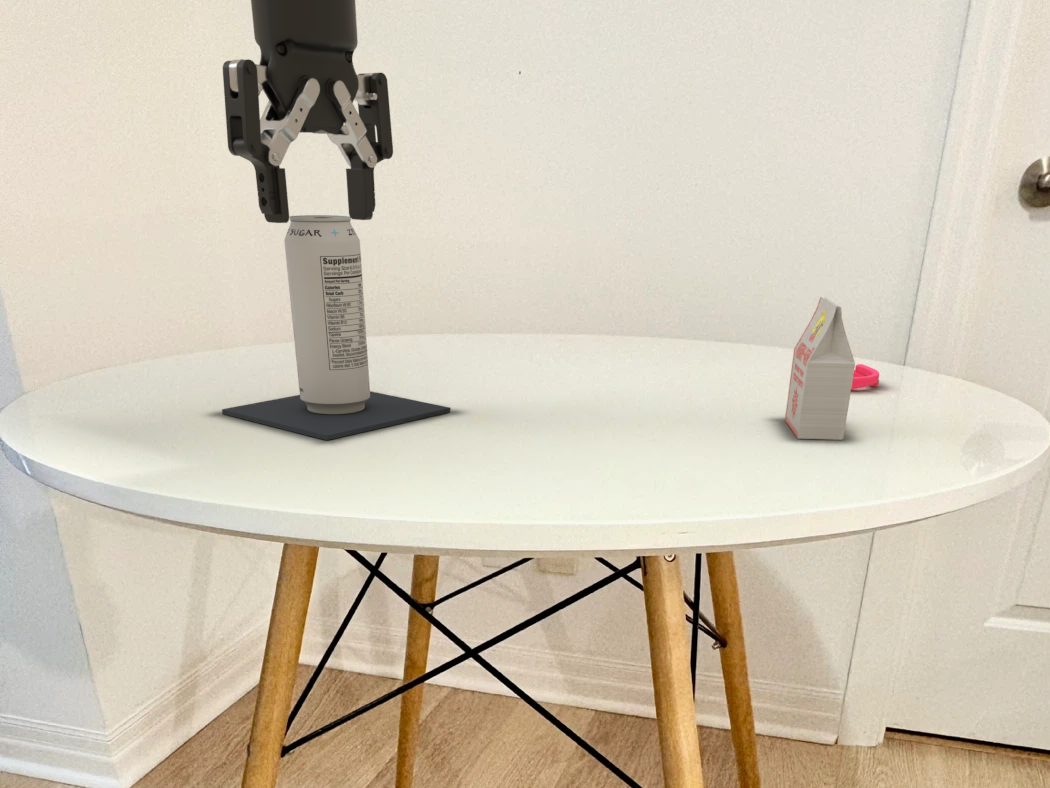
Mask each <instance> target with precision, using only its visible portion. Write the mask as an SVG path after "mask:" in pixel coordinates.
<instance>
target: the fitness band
mask: <svg viewBox="0 0 1050 788" xmlns="http://www.w3.org/2000/svg"><path fill="white" fill-rule="evenodd" d="M879 378H880V372H879V370H877V369H875V368H873V367H871V366H868V365H865V364H863V363H857V364H855V368H854V375H853V381H852V387H851V390H859V389H863V388H867V387H869V386H871V387H874V388H875V387H879V385H880V379H879Z"/></svg>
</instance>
